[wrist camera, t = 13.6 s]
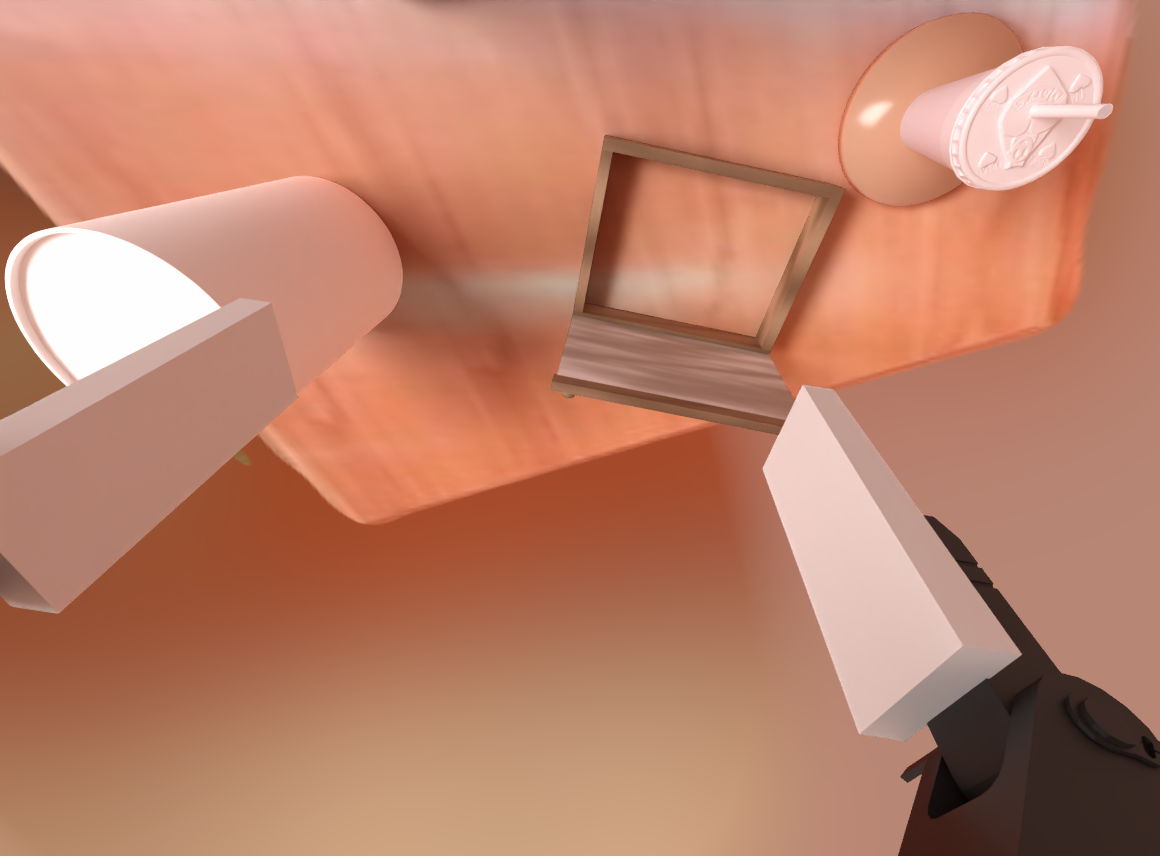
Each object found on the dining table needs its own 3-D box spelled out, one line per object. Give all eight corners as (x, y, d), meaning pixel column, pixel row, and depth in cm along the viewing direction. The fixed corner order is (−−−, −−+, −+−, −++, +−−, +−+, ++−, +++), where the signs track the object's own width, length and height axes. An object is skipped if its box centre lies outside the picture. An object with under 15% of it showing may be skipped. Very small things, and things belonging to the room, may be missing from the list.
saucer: (891, -2, 29) (900, -6, 28) (1054, 36, 30) (1068, 33, 29) (811, 187, 36) (816, 189, 35) (946, 216, 36) (955, 219, 35)
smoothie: (998, 52, 30) (1232, 16, 18) (966, 165, 33) (1144, 195, 22) (890, 70, 31) (1046, 48, 19) (869, 178, 34) (991, 214, 23)
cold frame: (602, 134, 35) (590, 149, 23) (835, 184, 36) (941, 224, 24) (569, 325, 44) (548, 407, 32) (755, 362, 45) (802, 457, 33)
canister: (401, 197, 39) (237, 264, 22) (404, 341, 47) (283, 468, 30) (239, 158, 38) (-52, 197, 22) (269, 311, 46) (71, 424, 30)
